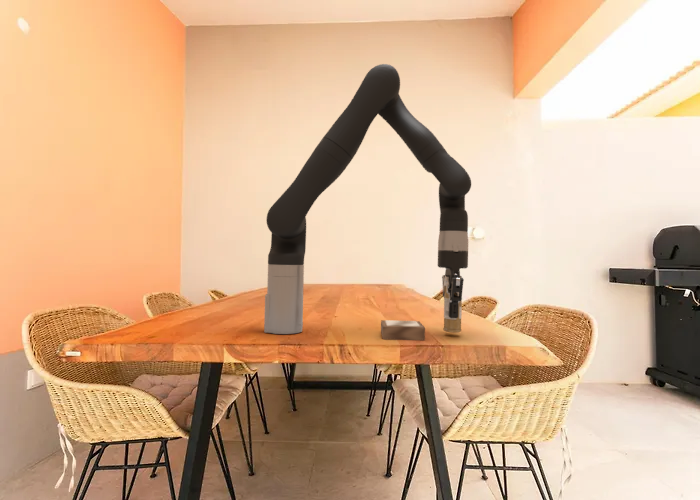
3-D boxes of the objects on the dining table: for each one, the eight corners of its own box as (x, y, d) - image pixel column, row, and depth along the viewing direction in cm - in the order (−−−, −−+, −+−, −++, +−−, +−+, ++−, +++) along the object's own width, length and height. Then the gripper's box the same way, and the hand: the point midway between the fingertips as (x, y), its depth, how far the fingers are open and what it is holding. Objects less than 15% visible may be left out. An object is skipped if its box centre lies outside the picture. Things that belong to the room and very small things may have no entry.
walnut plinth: (382, 339, 98) (383, 325, 98) (380, 331, 108) (381, 319, 108) (424, 340, 98) (425, 326, 98) (419, 332, 108) (419, 320, 108)
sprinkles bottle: (465, 332, 104) (466, 279, 104) (452, 333, 101) (454, 279, 101) (451, 329, 108) (453, 277, 108) (439, 330, 105) (440, 277, 105)
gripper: (433, 249, 112) (431, 312, 112) (443, 248, 98) (441, 320, 97) (461, 250, 112) (459, 313, 111) (475, 249, 98) (473, 321, 97)
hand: (451, 316), depth 104 cm, fingers closed on sprinkles bottle, 4 cm apart
